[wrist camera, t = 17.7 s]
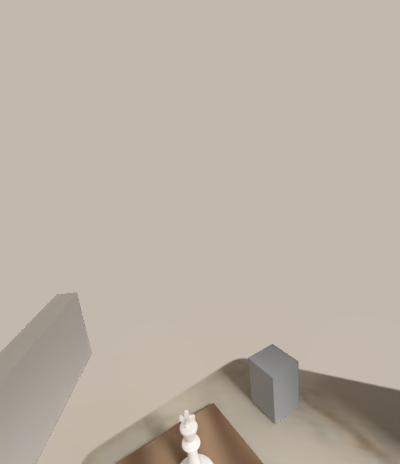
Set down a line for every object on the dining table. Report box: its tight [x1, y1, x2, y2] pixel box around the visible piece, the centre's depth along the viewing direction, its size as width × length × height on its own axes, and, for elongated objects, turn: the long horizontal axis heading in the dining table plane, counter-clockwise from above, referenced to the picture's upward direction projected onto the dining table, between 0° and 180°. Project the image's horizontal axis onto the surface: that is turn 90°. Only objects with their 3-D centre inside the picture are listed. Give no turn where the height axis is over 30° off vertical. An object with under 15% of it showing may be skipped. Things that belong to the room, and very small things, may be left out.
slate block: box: [248, 344, 299, 424], centre depth 42 cm, size 5×5×8 cm
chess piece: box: [179, 410, 213, 464], centre depth 32 cm, size 5×5×10 cm
